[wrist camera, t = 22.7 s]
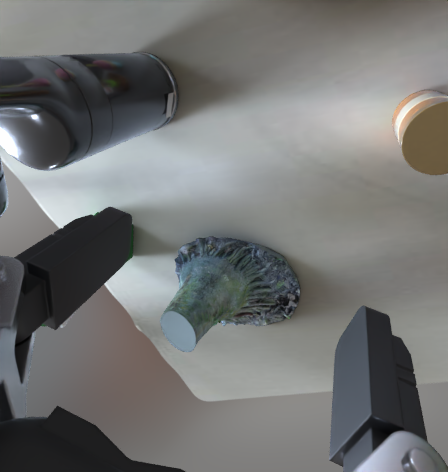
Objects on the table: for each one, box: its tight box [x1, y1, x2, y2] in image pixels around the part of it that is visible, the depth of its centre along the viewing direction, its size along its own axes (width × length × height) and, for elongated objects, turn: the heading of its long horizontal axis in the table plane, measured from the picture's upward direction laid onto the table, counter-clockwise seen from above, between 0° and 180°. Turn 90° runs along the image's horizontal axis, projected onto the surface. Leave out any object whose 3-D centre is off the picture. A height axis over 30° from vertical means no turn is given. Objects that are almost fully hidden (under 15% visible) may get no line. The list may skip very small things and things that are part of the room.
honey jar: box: [392, 90, 448, 175], centre depth 31 cm, size 6×6×10 cm
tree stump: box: [160, 237, 300, 352], centre depth 49 cm, size 18×20×18 cm
